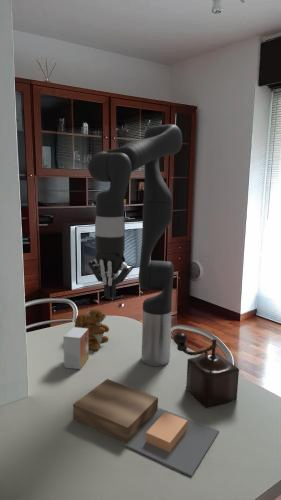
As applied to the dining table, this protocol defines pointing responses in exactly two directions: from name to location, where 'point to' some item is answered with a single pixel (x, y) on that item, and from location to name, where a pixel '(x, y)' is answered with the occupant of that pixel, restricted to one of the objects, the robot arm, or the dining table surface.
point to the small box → (76, 348)
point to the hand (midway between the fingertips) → (109, 297)
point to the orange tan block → (166, 431)
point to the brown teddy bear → (93, 327)
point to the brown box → (115, 409)
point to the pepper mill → (209, 375)
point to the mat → (184, 452)
